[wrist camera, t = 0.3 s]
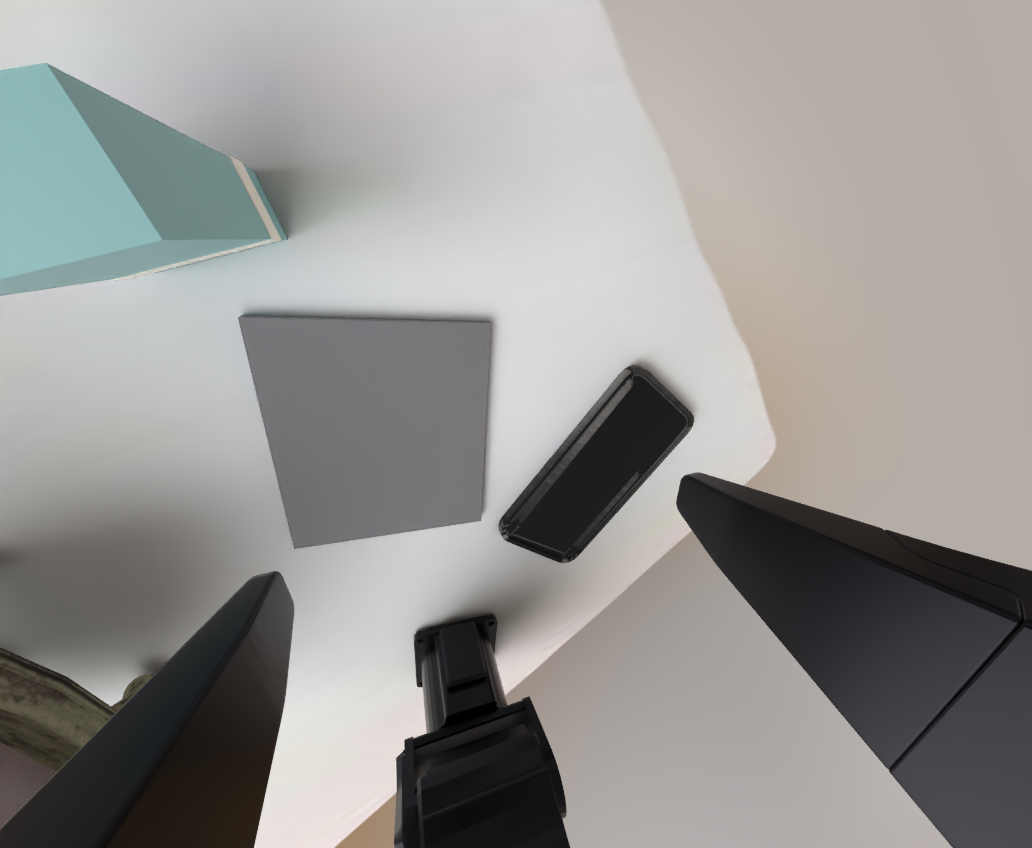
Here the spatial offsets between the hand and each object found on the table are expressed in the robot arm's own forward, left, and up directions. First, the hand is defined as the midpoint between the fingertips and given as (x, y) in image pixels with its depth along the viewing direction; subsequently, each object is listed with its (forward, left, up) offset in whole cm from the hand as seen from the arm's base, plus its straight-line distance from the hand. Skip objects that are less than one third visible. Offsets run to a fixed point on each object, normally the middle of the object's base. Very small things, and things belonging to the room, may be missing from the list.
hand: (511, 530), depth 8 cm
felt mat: (-4, +3, -13) cm, 14 cm away
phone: (-8, -11, -14) cm, 20 cm away
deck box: (+6, +9, -13) cm, 17 cm away
